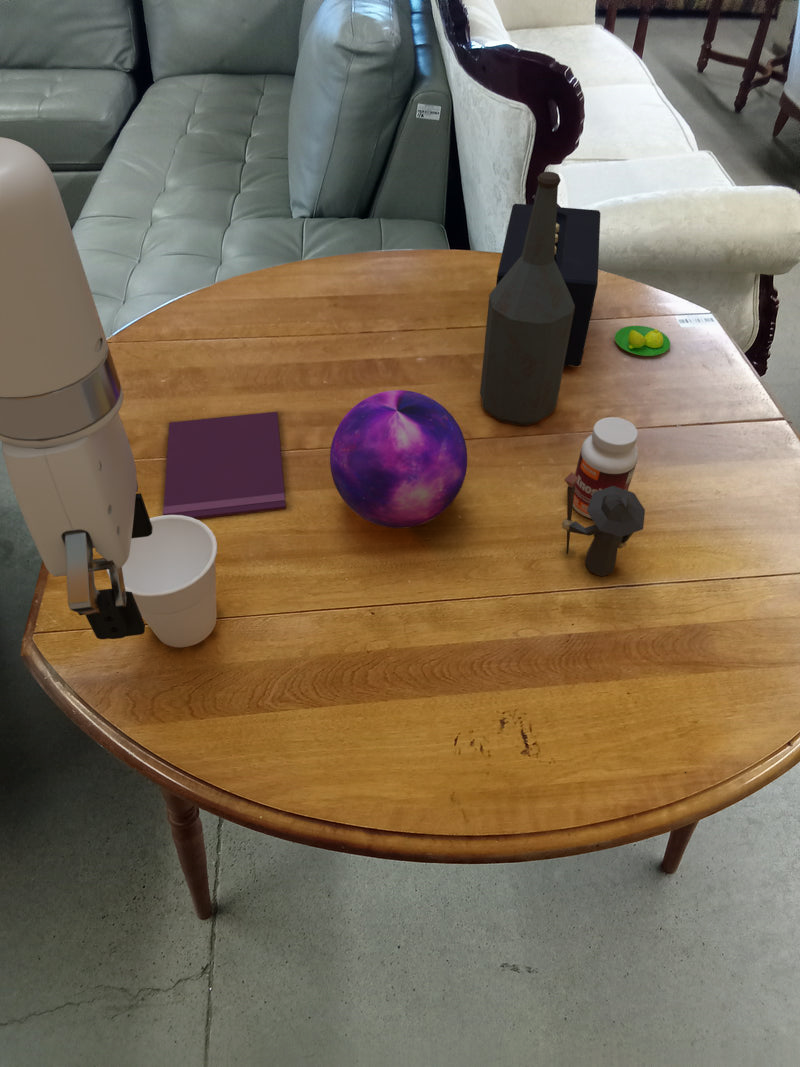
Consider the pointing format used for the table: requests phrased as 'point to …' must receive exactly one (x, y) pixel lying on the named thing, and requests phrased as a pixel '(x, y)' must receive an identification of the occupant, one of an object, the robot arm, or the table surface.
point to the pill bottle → (605, 460)
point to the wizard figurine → (605, 524)
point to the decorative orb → (398, 459)
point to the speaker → (564, 263)
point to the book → (224, 466)
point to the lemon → (642, 340)
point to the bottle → (528, 323)
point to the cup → (174, 579)
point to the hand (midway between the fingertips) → (127, 581)
